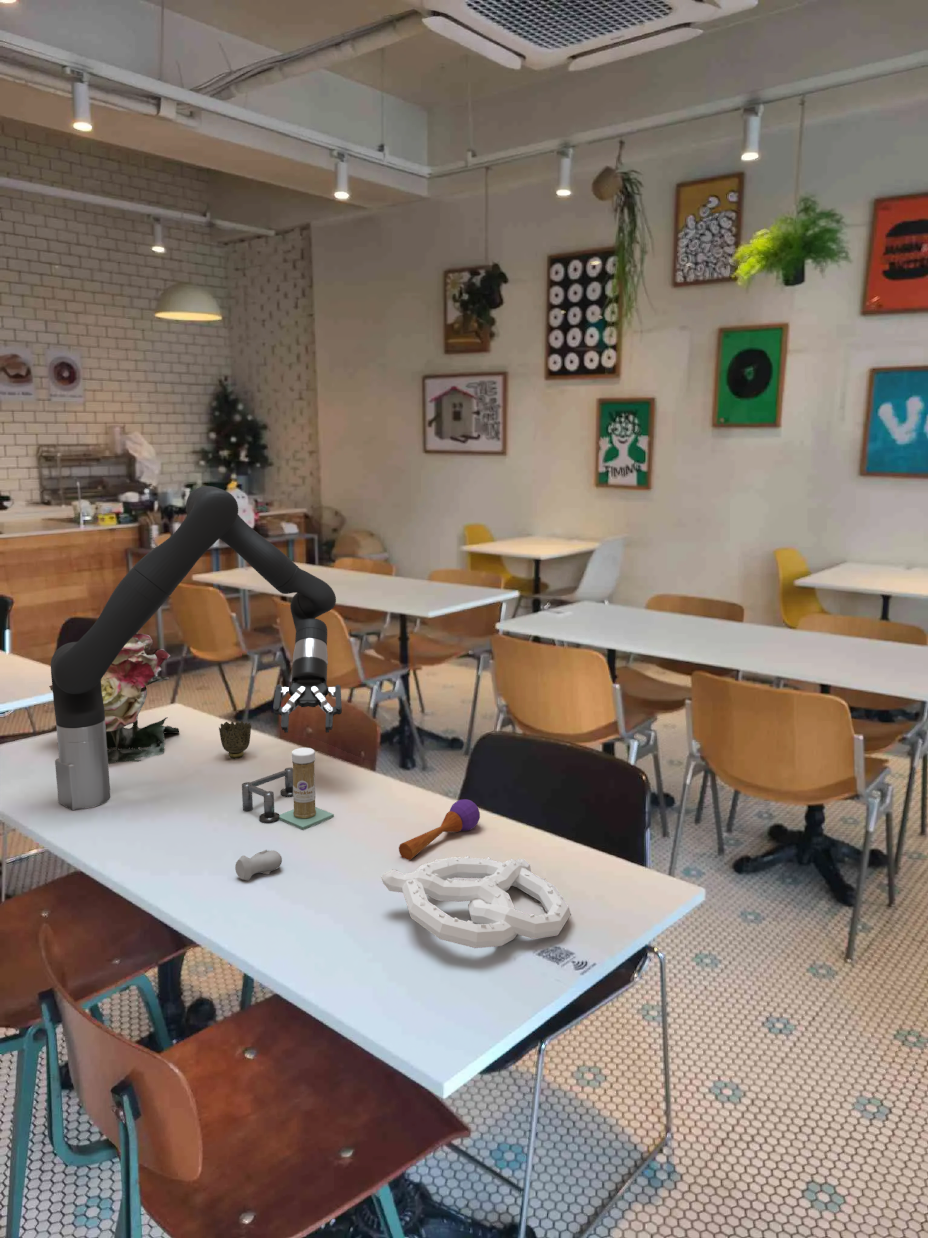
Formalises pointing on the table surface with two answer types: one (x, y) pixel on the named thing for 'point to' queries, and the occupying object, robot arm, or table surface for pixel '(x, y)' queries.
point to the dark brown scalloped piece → (235, 738)
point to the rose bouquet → (132, 701)
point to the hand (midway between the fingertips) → (306, 731)
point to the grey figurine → (258, 864)
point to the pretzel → (479, 900)
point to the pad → (305, 822)
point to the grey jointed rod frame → (267, 794)
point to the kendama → (444, 827)
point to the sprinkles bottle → (303, 782)
